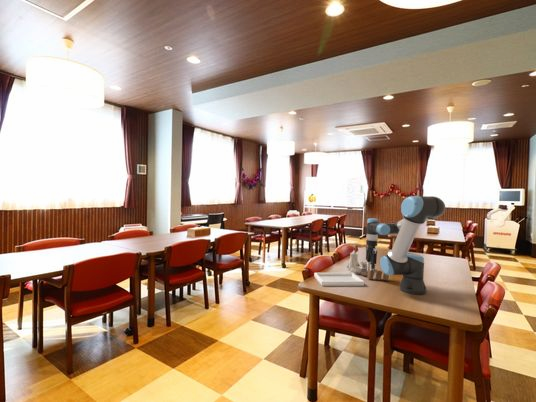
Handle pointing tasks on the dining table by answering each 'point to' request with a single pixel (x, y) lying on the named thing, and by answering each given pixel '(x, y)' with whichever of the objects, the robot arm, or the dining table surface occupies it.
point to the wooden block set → (378, 274)
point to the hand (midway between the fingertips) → (370, 271)
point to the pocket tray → (338, 279)
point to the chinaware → (355, 264)
